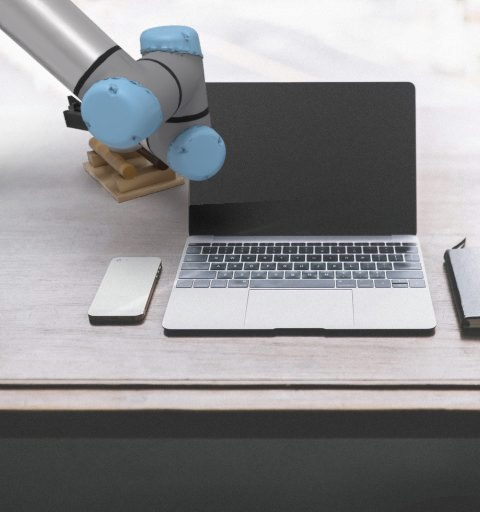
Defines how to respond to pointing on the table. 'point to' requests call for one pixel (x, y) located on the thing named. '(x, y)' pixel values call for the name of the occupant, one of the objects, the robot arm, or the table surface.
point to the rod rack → (129, 171)
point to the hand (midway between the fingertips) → (110, 95)
